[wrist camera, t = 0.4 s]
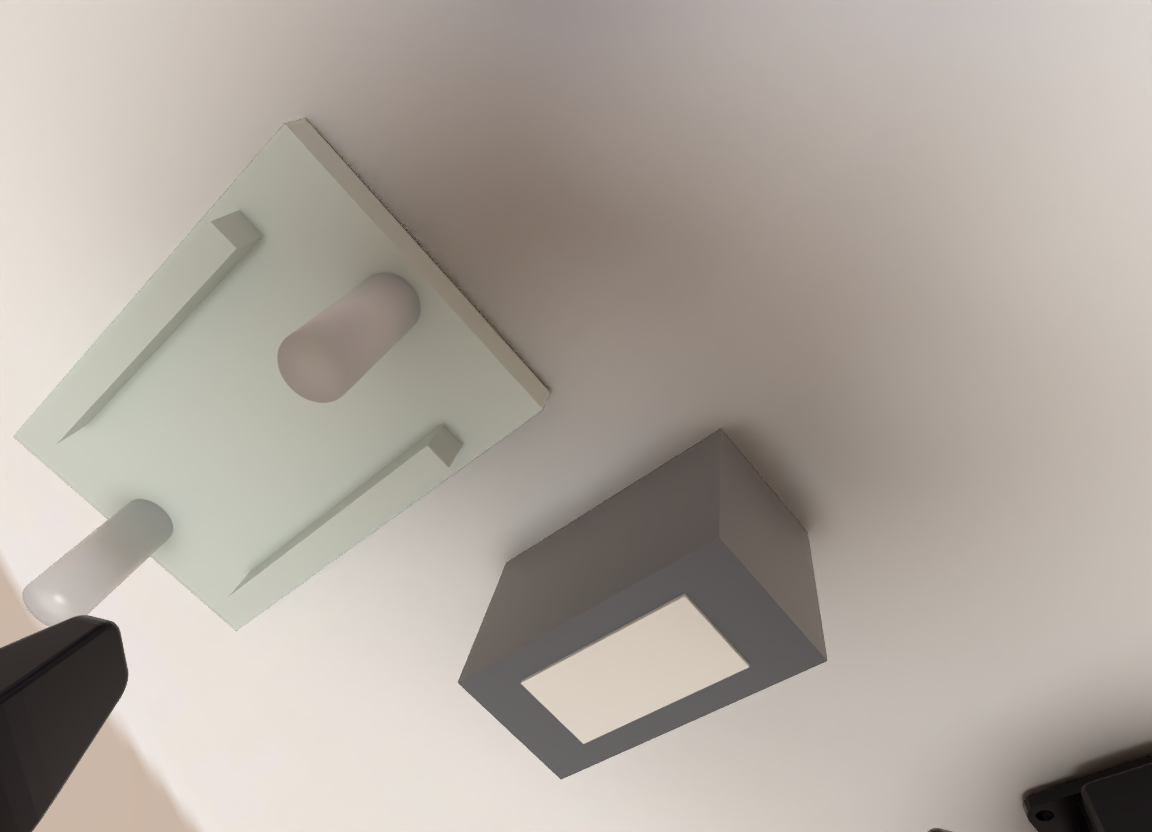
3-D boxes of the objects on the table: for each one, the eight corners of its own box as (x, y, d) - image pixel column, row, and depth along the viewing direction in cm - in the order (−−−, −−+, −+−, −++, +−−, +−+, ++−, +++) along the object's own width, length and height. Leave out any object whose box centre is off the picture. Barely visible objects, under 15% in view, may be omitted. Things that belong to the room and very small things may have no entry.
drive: (807, 529, 22) (828, 664, 17) (590, 645, 25) (560, 782, 20) (721, 426, 21) (719, 539, 16) (507, 560, 24) (456, 685, 19)
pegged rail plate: (550, 393, 21) (503, 493, 16) (252, 611, 27) (158, 728, 22) (305, 118, 19) (174, 149, 14) (38, 421, 24) (-113, 510, 20)
